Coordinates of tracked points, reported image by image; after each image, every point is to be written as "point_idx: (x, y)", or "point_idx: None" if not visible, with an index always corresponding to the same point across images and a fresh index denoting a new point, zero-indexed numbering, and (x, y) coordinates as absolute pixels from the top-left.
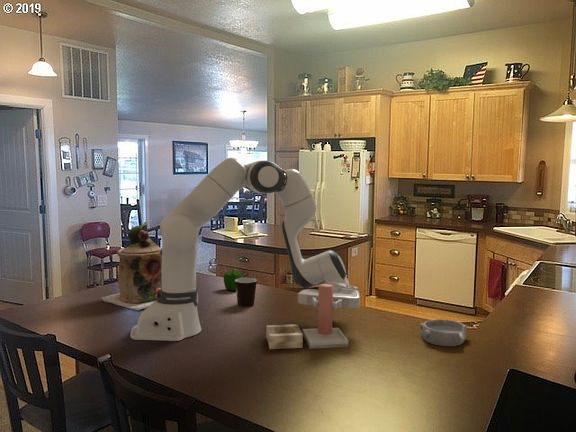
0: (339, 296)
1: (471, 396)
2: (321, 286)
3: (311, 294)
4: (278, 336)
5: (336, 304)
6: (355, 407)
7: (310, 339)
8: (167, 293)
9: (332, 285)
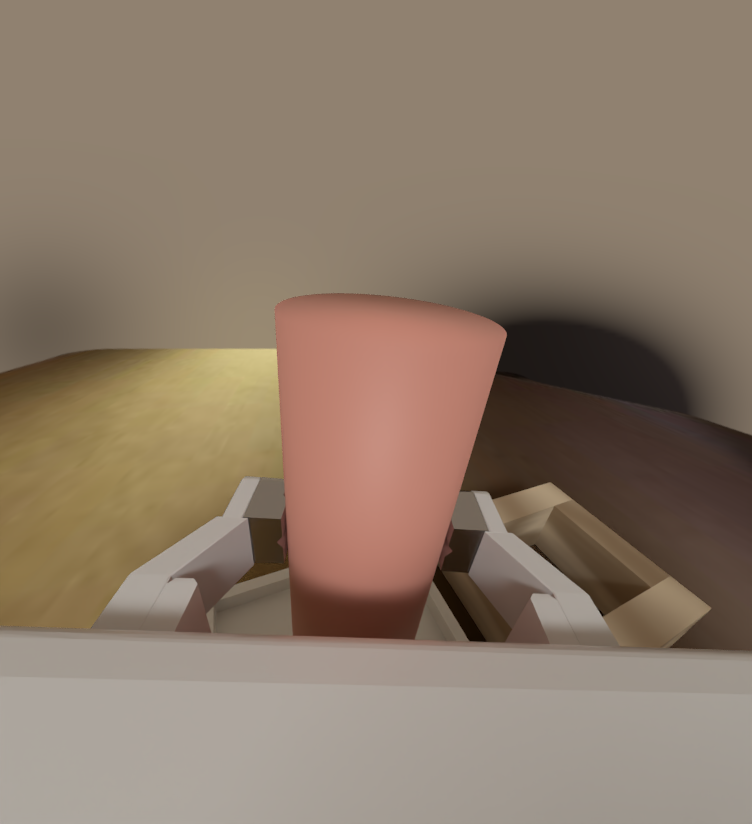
0: (113, 655)
1: (4, 388)
2: (436, 307)
3: (696, 658)
4: (524, 491)
5: (250, 478)
6: (270, 366)
7: (424, 621)
8: None
9: (284, 315)
